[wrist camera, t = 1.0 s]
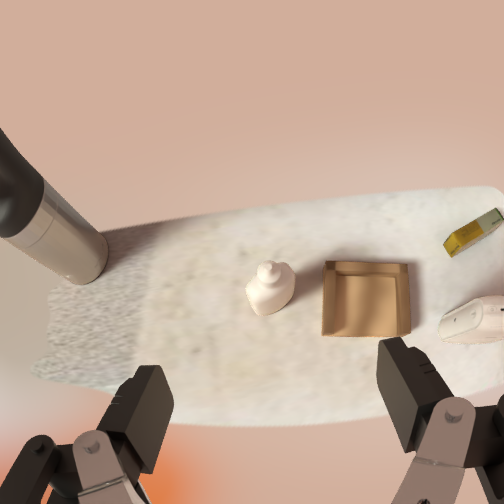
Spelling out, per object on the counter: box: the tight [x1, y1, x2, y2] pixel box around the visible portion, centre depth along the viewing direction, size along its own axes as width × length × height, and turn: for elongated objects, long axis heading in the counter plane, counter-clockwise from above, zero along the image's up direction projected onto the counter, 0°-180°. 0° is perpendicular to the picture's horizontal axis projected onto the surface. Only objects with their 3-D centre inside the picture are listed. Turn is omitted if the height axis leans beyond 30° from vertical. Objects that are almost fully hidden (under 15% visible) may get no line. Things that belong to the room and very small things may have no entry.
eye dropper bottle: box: [246, 261, 295, 316], centre depth 35 cm, size 4×6×12 cm
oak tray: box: [321, 261, 411, 337], centre depth 38 cm, size 11×9×3 cm
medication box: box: [443, 208, 504, 258], centre depth 40 cm, size 12×3×4 cm, turn 112°
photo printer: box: [438, 295, 504, 344], centre depth 30 cm, size 10×4×12 cm, turn 81°
